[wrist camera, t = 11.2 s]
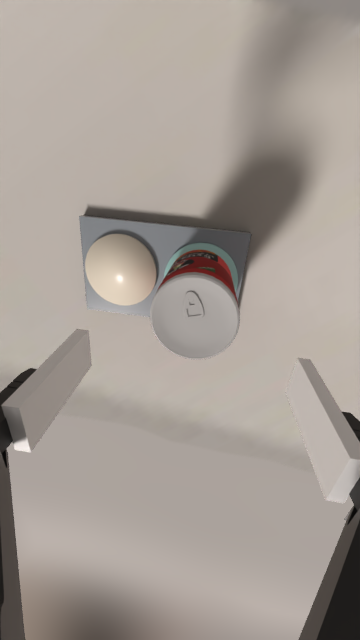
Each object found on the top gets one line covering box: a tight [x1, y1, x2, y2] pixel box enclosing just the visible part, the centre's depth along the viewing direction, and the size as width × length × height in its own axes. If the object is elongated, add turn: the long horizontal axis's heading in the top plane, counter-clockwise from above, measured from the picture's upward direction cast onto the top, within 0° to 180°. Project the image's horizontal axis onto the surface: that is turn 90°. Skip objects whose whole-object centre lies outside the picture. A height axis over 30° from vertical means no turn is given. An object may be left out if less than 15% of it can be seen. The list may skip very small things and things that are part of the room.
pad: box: [164, 243, 238, 292], centre depth 31 cm, size 9×9×1 cm
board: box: [79, 215, 251, 317], centre depth 32 cm, size 20×12×2 cm, turn 85°
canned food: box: [150, 250, 240, 360], centre depth 26 cm, size 8×8×11 cm
